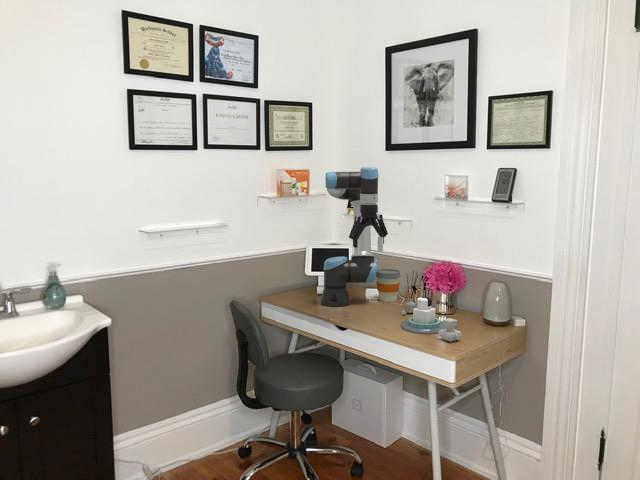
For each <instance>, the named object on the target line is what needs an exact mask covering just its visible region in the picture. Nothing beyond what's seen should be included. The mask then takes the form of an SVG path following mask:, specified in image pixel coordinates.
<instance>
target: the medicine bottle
mask: <svg viewBox="0 0 640 480" xmlns="http://www.w3.org/2000/svg"><path fill="white" fill-rule="evenodd" d="M432 300H433V299H432V298H431V297H429V296H420V297H417V301H416V302H417V303H416V308H414V309H413V313H412V317H413V322H415V323H420V324H433V323H435V318H436V310H437V309H436V308H435V307H432V305H433V304H432Z"/></svg>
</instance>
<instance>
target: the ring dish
mask: <svg viewBox="0 0 640 480" xmlns="http://www.w3.org/2000/svg"><path fill="white" fill-rule="evenodd" d="M400 328H401V329H402V330H404V331H406V332H409V333H413V334H418V335H420V334H421V335H436V334H437V335H439V334H438V331H439V330H442V329H447V326H446V325H444V323H443V320H441V319H439V318H438V317H435V323H433V324H420V323H415V322H413V316H410V317H409V318H408V319H404V320H403V321H401V323H400Z"/></svg>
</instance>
